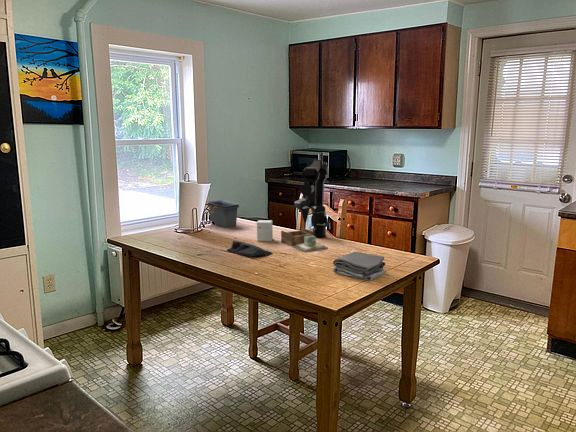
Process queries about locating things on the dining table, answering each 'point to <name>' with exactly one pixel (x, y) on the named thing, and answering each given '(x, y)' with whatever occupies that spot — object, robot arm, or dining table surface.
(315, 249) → the rubber mat
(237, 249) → the crumpled dark cloth
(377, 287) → the dining table surface
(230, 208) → the storage bin
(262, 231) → the small box
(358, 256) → the towel
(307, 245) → the cover plate
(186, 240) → the dining table surface
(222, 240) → the dining table surface
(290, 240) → the walnut box
